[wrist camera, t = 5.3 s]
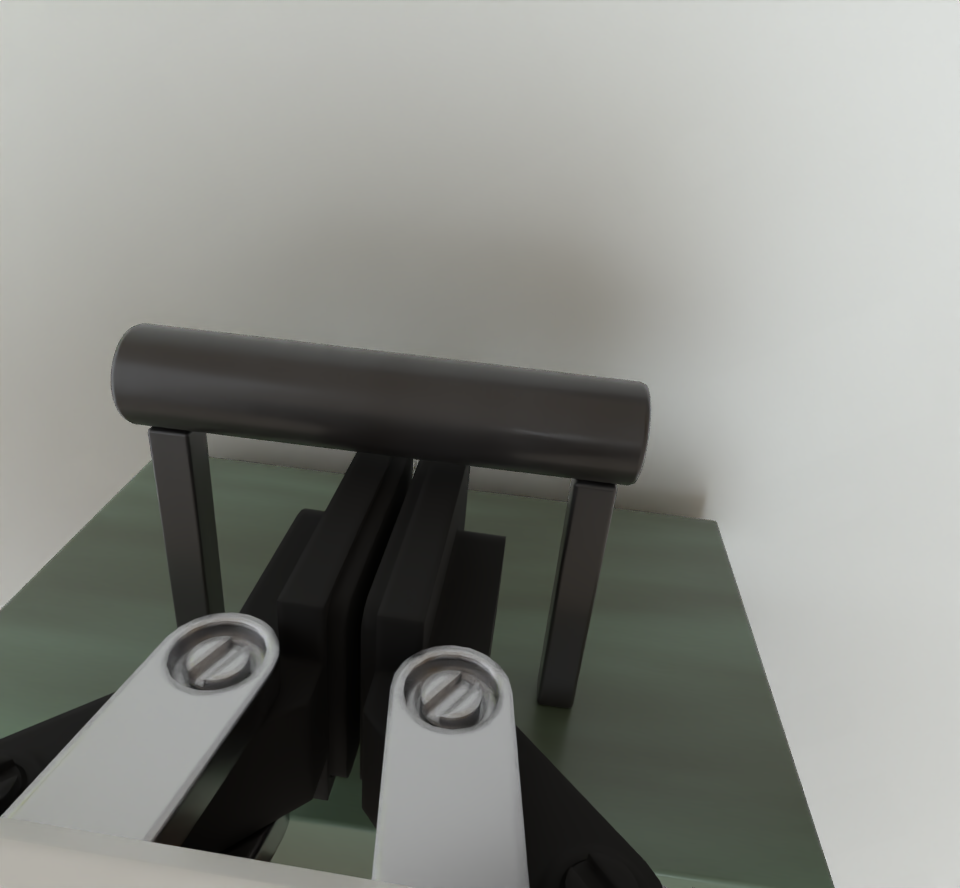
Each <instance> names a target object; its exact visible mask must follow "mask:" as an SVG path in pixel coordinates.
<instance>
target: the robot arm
mask: <svg viewBox="0 0 960 888" xmlns="http://www.w3.org/2000/svg"><path fill="white" fill-rule="evenodd" d="M412 468H413V459H411V458H403V457H395V456H387V455H379V454H371V453H363V452H357V453H356V455H355V456H354V458H353V460H352V462H351V464H350V466H349V468H348V469H347V471H346V473H345V475H344V477H343V479H342V481H341V482H340V484H339V486H338V488H337V490H336V492H335V494H334V495H333V497H332V499H331V501H330V503H329V505H328V506H327V508H326V510H325V511H321V510H314V509H307V508H305V509H302V510H301V511H300V512H299V513H298V515H297V516H296V518H295V520H294V521H293V523H292V525H291V526H290V528H289V530H288V531H287V533H286V535H285V536H284V538H283V540H282V541H281V543H280V545H279V546H278V548H277V550H276V551H275V553H274V555H273V557H272V558H271V560H270V562H269V563H268V565H267V567H266V568H265V570H264V572H263V573H262V575H261V577H260V578H259V580H258V582H257V583H256V585H255V587H254V589H253V590H252V592H251V594H250V595H249V597H248V599H247V600H246V602H245V604H244V605H243V607H242V609H241V610H240V612H239V613H233V612H230V613H217V614H211V615H207V616H204V617H200V618H196V619H194V620H192V621H190V622H188V623H186V624H184V625H182V626H180V627H178V628H177V629H176V630H175V631H174V632H172V633H171V634H170V635H169V636H168V637H166V638H165V639H164V640H163V641H162V642H161V643H160V645H159V646H158V647H157V648H156V649H155V650H154V651H153V652H152V653H151V654H150V655H149V656H148V658H147V659H146V660H145V661H144V662H143V663H142V664H141V665H140V666H139V667H138V668H137V669H136V671H135V672H134V673H133V674H132V675H131V676H130V677H129V678H128V679H127V680H126V681H125V682H124V684H123V685H122V686H121V687H120V688H119V689H118V690H117V691H116V692H113V693H111V694H109V695H106V696H104V697H101V698H99V699H96V700H94V701H91V702H89V703H87V704H84V705H82V706H79V707H77V708H74V709H72V710H70V711H67V712H65V713H62V714H60V715H57V716H55V717H52V718H50V719H48V720H45V721H43V722H40V723H38V724H35V725H33V726H31V727H28V728H26V729H23V730H21V731H18V732H16V733H13V734H11V735H9V736H6V737H4V738H1V739H0V888H668V887H666V886H663V885H662V884H661V882H660V880H659V879H658V877H657V876H656V875H655V873H654V872H653V871H652V869H651V868H650V867H649V865H648V864H647V862H646V861H645V860H644V859H643V858H642V857H641V856H640V855H639V854H638V853H637V852H636V851H635V850H634V849H633V848H632V847H631V845H630V844H629V843H628V842H627V841H626V840H625V839H624V838H623V837H622V836H621V835H620V834H619V833H618V832H617V831H616V830H615V829H614V828H613V827H612V826H611V824H610V823H609V822H608V821H607V820H606V819H605V818H604V817H603V816H602V815H601V814H600V813H599V812H598V811H597V810H596V809H595V808H594V807H593V806H592V805H591V803H590V802H589V801H588V800H587V799H586V798H585V797H584V796H583V795H582V794H581V793H580V792H579V791H578V790H577V789H576V788H575V787H574V786H573V785H572V784H571V782H570V781H569V780H568V779H567V778H566V777H565V776H564V775H563V774H562V773H561V772H560V771H559V770H558V769H557V768H556V767H555V766H554V765H553V764H552V762H551V761H550V760H549V759H548V758H547V757H546V756H545V755H544V754H543V753H542V752H541V751H540V750H539V749H538V748H537V747H536V746H535V745H534V744H533V743H532V741H531V740H530V739H529V738H528V737H527V736H526V735H525V734H524V733H523V732H522V731H521V730H520V729H519V728H518V727H517V726H516V725H515V717H514V705H513V694H512V689H511V685H510V682H509V678H508V676H507V675H506V674H505V672H504V671H503V670H502V668H501V667H500V665H499V664H497V663H496V662H495V661H493V660H492V659H491V658H490V655H491V648H492V641H493V634H494V627H495V620H496V613H497V605H498V598H499V591H500V583H501V575H502V567H503V559H504V552H505V543H506V536H500V535H493V534H486V533H478V532H471V531H464V527H465V517H466V506H467V495H468V484H469V473H470V466H467V465H459V464H451V463H443V462H435V461H427V460H419V463H418V465H417V468H416V471H415V473H414V476H413V478H412ZM359 745H360V780H362V809H363V810H364V812H365V813H366V815H367V816H368V818H369V819H370V821H371V822H372V824H373V825H374V827H375V828H376V840H375V850H374V860H373V871H372V880H369V879H364V878H358V877H352V876H347V875H341V874H335V873H329V872H323V871H318V870H312V869H306V868H300V867H294V866H289V865H283V864H277V863H271V862H270V861H271V860H272V858H273V856H274V854H275V852H276V850H277V848H278V847H279V845H280V843H281V841H282V839H283V837H284V835H285V832H286V830H287V827H288V824H289V821H290V812H292V811H293V810H295V809H297V808H299V807H300V806H302V805H304V804H306V803H307V802H309V801H311V800H312V799H313V798H314V799H320V800H327V801H328V799H329V796H330V793H331V790H332V787H333V783H334V780H335V777H336V776H339V777H345V778H348V777H349V775H350V773H351V770H352V767H353V764H354V761H355V758H356V755H357V751H358V748H359ZM692 888H694V887H692Z"/></svg>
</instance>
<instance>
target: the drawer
mask: <svg viewBox="0 0 960 888" xmlns="http://www.w3.org/2000/svg"><path fill="white" fill-rule="evenodd" d="M111 390H112V396H113V400H114V403H115V406H116V408H117V410H118V412H119V413H120V415H121V416H122V417H123V418H124V419H126V420H128V421H129V422H131V423H133V424H138V425H146V426H152V427H150V428H149V430H148V436H149V443H150V449H151V456H152V460H151V461H150V462H149V463H148V464H147V465H146V466H145V467H144V468H143V469H142V470H141V471H140V472H139V473H138V474H137V475H136V476H135V477H134V478H133V479H132V480H131V481H130V482H129V483H128V484H126V485H125V486H124V487H123V488H122V489H121V490H120V491H119V492H118V493H117V494H116V495H115V496H114V497H113V498H112V499H111V500H110V501H109V502H108V503H107V504H106V505H105V506H104V507H103V508H102V509H101V510H100V511H99V512H98V513H97V514H96V515H95V516H94V517H93V518H92V519H91V520H90V521H89V522H88V523H87V524H86V525H85V526H84V527H83V528H82V529H81V530H80V531H79V532H78V533H77V534H76V535H75V536H74V537H73V538H72V539H71V540H70V541H69V542H68V543H67V544H66V545H65V546H64V547H63V548H62V549H61V550H60V551H59V552H58V553H57V554H56V555H55V556H54V557H53V558H52V559H51V560H50V561H49V562H48V563H47V564H46V565H45V566H44V567H43V568H42V569H41V570H40V571H39V572H38V573H37V574H36V575H35V576H34V577H33V578H32V579H31V580H30V581H29V582H28V583H27V584H26V585H25V586H24V587H23V588H22V589H21V590H20V591H19V592H18V593H17V594H16V595H15V596H14V597H13V598H12V599H11V600H10V601H9V602H8V603H7V604H6V605H5V606H4V607H3V608H2V609H1V610H0V739H1V738H4V737H6V736H9V735H11V734H13V733H16V732H18V731H21V730H23V729H26V728H28V727H31V726H33V725H35V724H38V723H40V722H43V721H45V720H48V719H50V718H52V717H55V716H57V715H60V714H62V713H65V712H67V711H70V710H72V709H74V708H77V707H79V706H82V705H84V704H87V703H89V702H91V701H94V700H96V699H99V698H101V697H104V696H106V695H109V694H111V693H113V692H116V691H117V690H118V689H119V688H120V687H121V686H122V685H123V684H124V682H125V681H126V680H127V679H128V678H129V677H130V676H131V675H132V674H133V673H134V672H135V671H136V669H137V668H138V667H139V666H140V665H141V664H142V663H143V662H144V661H145V660H146V659H147V658H148V656H149V655H150V654H151V653H152V652H153V651H154V650H155V649H156V648H157V647H158V646H159V645H160V643H161V642H162V641H163V640H164V639H165V638H166V637H168V636H169V635H170V634H171V633H172V632H174V631H175V630H176V629H177V628H178V627H180V626H182V625H184V624H186V623H188V622H190V621H192V620H194V619H196V618H200V617H204V616H207V615H211V614H217V613H230V612H233V613H239V612H240V610H241V609H242V607H243V605H244V604H245V602H246V600H247V599H248V597H249V595H250V594H251V592H252V590H253V589H254V587H255V585H256V583H257V582H258V580H259V578H260V577H261V575H262V573H263V572H264V570H265V568H266V567H267V565H268V563H269V562H270V560H271V558H272V557H273V555H274V553H275V551H276V550H277V548H278V546H279V545H280V543H281V541H282V540H283V538H284V536H285V535H286V533H287V531H288V530H289V528H290V526H291V525H292V523H293V521H294V520H295V518H296V516H297V515H298V513H299V512H300V511H301V510H302V509H305V508H307V509H314V510H321V511H325V510H326V508H327V506H328V505H329V503H330V501H331V499H332V497H333V495H334V494H335V492H336V490H337V488H338V486H339V484H340V482H341V481H342V479H343V477H344V475H345V474H341V473H333V472H325V471H317V470H309V469H301V468H293V467H285V466H277V465H269V464H261V463H253V462H245V461H238V460H230V459H222V458H214V457H209V455H208V446H207V436H206V433H211V434H219V435H227V436H235V437H243V438H251V439H259V440H267V441H275V442H283V443H291V444H299V445H307V446H315V447H323V448H331V449H339V450H347V451H355V452H363V453H371V454H379V455H387V456H395V457H403V458H411V459H419V460H427V461H435V462H443V463H451V464H459V465H467V466H475V467H483V468H491V469H499V470H507V471H515V472H523V473H532V474H540V475H548V476H556V477H564V478H571V484H570V490H569V496H568V502H562V501H554V500H547V499H539V498H531V497H523V496H515V495H507V494H499V493H491V492H483V491H475V490H468V495H467V506H466V517H465V527H464V531H471V532H478V533H486V534H493V535H500V536H506V543H505V552H504V559H503V567H502V575H501V583H500V591H499V598H498V605H497V613H496V620H495V627H494V634H493V641H492V648H491V655H490V658H491V659H492V660H493V661H495V662H496V663H497V664H499V665H500V667H501V668H502V670H503V671H504V672H505V674H506V675H507V676H508V678H509V682H510V685H511V689H512V694H513V705H514V717H515V725H516V726H517V727H518V728H519V729H520V730H521V731H522V732H523V733H524V734H525V735H526V736H527V737H528V738H529V739H530V740H531V741H532V743H533V744H534V745H535V746H536V747H537V748H538V749H539V750H540V751H541V752H542V753H543V754H544V755H545V756H546V757H547V758H548V759H549V760H550V761H551V762H552V764H553V765H554V766H555V767H556V768H557V769H558V770H559V771H560V772H561V773H562V774H563V775H564V776H565V777H566V778H567V779H568V780H569V781H570V782H571V784H572V785H573V786H574V787H575V788H576V789H577V790H578V791H579V792H580V793H581V794H582V795H583V796H584V797H585V798H586V799H587V800H588V801H589V802H590V803H591V805H592V806H593V807H594V808H595V809H596V810H597V811H598V812H599V813H600V814H601V815H602V816H603V817H604V818H605V819H606V820H607V821H608V822H609V823H610V824H611V826H612V827H613V828H614V829H615V830H616V831H617V832H618V833H619V834H620V835H621V836H622V837H623V838H624V839H625V840H626V841H627V842H628V843H629V844H630V845H631V847H632V848H633V849H634V850H635V851H636V852H637V853H638V854H639V855H640V856H641V857H642V858H643V859H644V860H645V861H646V862H647V864H648V865H649V867H650V868H651V869H652V871H653V872H654V873H655V875H656V876H657V877H658V879H659V880H660V882H661V884H662V885H663V886H666V887H668V888H692V887H694V888H834V884H833V881H832V878H831V875H830V872H829V869H828V866H827V863H826V860H825V857H824V853H823V850H822V847H821V844H820V841H819V838H818V835H817V832H816V829H815V826H814V822H813V819H812V816H811V813H810V810H809V807H808V804H807V801H806V798H805V795H804V791H803V788H802V785H801V782H800V779H799V776H798V773H797V770H796V767H795V763H794V760H793V757H792V754H791V751H790V748H789V745H788V742H787V739H786V736H785V732H784V729H783V726H782V723H781V720H780V717H779V714H778V711H777V708H776V705H775V701H774V698H773V695H772V692H771V689H770V686H769V683H768V680H767V677H766V673H765V670H764V667H763V664H762V661H761V658H760V655H759V652H758V649H757V646H756V642H755V639H754V636H753V633H752V630H751V627H750V624H749V621H748V618H747V615H746V611H745V608H744V605H743V602H742V599H741V596H740V593H739V590H738V587H737V583H736V580H735V577H734V574H733V571H732V568H731V565H730V562H729V559H728V556H727V552H726V549H725V546H724V543H723V540H722V537H721V534H720V531H719V528H718V525H717V522H716V521H713V520H705V519H697V518H689V517H681V516H673V515H665V514H657V513H649V512H642V511H634V510H626V509H618V508H614V504H615V499H616V494H617V484H620V485H631V484H634V483H635V482H636V481H637V479H638V477H639V475H640V473H641V470H642V467H643V464H644V460H645V456H646V451H647V445H648V439H649V431H650V420H651V399H650V393H649V389H648V386H647V385H646V384H644V383H642V382H639V381H630V380H622V379H613V378H605V377H596V376H588V375H579V374H571V373H562V372H554V371H545V370H537V369H528V368H520V367H511V366H503V365H494V364H486V363H477V362H469V361H460V360H452V359H443V358H435V357H426V356H418V355H409V354H401V353H392V352H384V351H375V350H367V349H359V348H350V347H342V346H333V345H325V344H316V343H308V342H299V341H291V340H282V339H274V338H265V337H257V336H248V335H240V334H231V333H223V332H214V331H206V330H197V329H189V328H180V327H172V326H163V325H155V324H139V325H136V326H133V327H132V328H130V329H129V330H128V331H127V332H126V333H125V334H124V335H123V337H122V338H121V340H120V342H119V344H118V346H117V348H116V351H115V354H114V358H113V363H112V369H111ZM375 840H376V828H375V827H374V825H373V824H372V822H371V821H370V819H369V818H368V816H367V815H366V813H365V812H364V810H363V809H362V780H360V745H359V748H358V751H357V755H356V758H355V761H354V764H353V767H352V770H351V773H350V775H349V777H348V778H345V777H339V776H336V777H335V780H334V783H333V787H332V790H331V793H330V796H329V799H328V801H327V800H320V799H314V798H313V799H312V800H311V801H309V802H307V803H306V804H304V805H302V806H300V807H299V808H297V809H295V810H293V811H292V812H290V821H289V824H288V827H287V830H286V832H285V835H284V837H283V839H282V841H281V843H280V845H279V847H278V848H277V850H276V852H275V854H274V856H273V858H272V860H271V861H270V862H271V863H277V864H283V865H289V866H294V867H300V868H306V869H312V870H318V871H323V872H329V873H335V874H341V875H347V876H352V877H358V878H364V879H369V880H372V871H373V860H374V850H375Z"/></svg>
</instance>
